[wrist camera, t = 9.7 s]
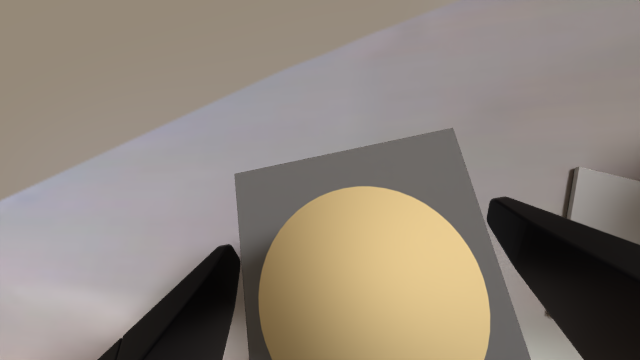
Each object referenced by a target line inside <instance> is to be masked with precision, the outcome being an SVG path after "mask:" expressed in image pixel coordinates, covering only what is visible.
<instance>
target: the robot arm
mask: <svg viewBox="0 0 640 360" xmlns="http://www.w3.org/2000/svg"><path fill="white" fill-rule="evenodd" d="M487 222H488V225H489V227H490V228H491V230H492V232H493V233H494V235H495V237H496V238H497V240H498V242H499V243H500V245H501V247H502V248H503V250H504V252H505V253H506V255H507V256H508V258H509V260H510V261H511V263H512V264H513V266H514V267H515V269H516V270H517V272H518V273H519V274H520V276H521V277H522V278H523V280H524V281H525V282H526V284H527V285H528V286H529V288H530V289H531V290H532V292H533V293H534V294H535V296H536V297H537V298H538V300H539V301H540V302H541V304H542V305H543V306H544V308H545V309H546V310H547V312H548V313H549V314H550V316H551V317H552V318H553V319H554V321H555V322H556V323H557V325H558V326H559V327H560V329H561V330H562V331H563V333H564V334H565V335H566V337H567V338H568V339H569V341H570V342H571V343H572V345H573V346H574V347H575V349H576V350H577V351H578V353H579V354H580V355H581V357H582V358H583V359H584V360H640V245H639V244H637V243H634V242H631V241H628V240H626V239H623V238H620V237H617V236H614V235H612V234H609V233H606V232H603V231H601V230H598V229H595V228H592V227H589V226H587V225H584V224H581V223H578V222H576V221H573V220H570V219H567V218H564V217H562V216H559V215H556V214H553V213H551V212H548V211H545V210H542V209H539V208H537V207H534V206H531V205H528V204H525V203H523V202H520V201H517V200H514V199H512V198H509V197H499V198H493V199H491V201H490V203H489V208H488V214H487ZM239 273H240V259H239V257H238V255H237V254H236V252H235V250H234V248H233V247H232V246H231V245H230V244H227V245H221V246H219V247H217V248H216V249H215V250H214V251H213V252H212V253H211V254H210V255H209V256H208V257H207V258H206V259H204V260H203V261H202V262H201V263H200V264H199V265H198V266H197V267H196V268H195V269H194V270H193V271H192V272H191V273H190V274H189V275H187V276H186V277H185V278H184V279H183V280H182V281H181V282H180V283H179V284H178V285H177V286H176V287H175V288H174V289H173V290H171V291H170V292H169V293H168V294H167V295H166V296H165V297H164V298H163V299H162V300H161V301H160V302H159V303H158V304H157V305H155V306H154V307H153V308H152V309H151V310H150V311H149V312H148V313H147V314H146V315H145V316H144V317H143V318H142V319H141V320H140V321H138V322H137V323H136V324H135V325H134V326H133V327H132V328H131V329H130V330H129V331H128V332H127V333H126V334H125V335H124V336H123V338H120V339H119V340H118V341H117V342H116V343H115V344H114V345H113V346H112V347H111V348H110V349H109V350H108V351H106V352H105V353H104V354H103V355H102V356H101V357H100V358H99V359H98V360H222V359H223V355H224V350H225V346H226V342H227V338H228V334H229V329H230V325H231V321H232V317H233V312H234V308H235V302H236V295H237V288H238V280H239Z"/></svg>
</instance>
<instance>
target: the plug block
mask: <svg viewBox="0 0 640 360" xmlns="http://www.w3.org/2000/svg"><path fill="white" fill-rule="evenodd" d="M235 186H236V199H237V211H238V224H239V236H240V249H241V261H242V274H243V287H244V299H245V312H246V324H247V337H248V349H249V360H531V359H530V356H529V353H528V350H527V347H526V344H525V341H524V338H523V335H522V332H521V329H520V326H519V323H518V320H517V317H516V314H515V311H514V308H513V305H512V302H511V299H510V296H509V293H508V290H507V287H506V284H505V281H504V278H503V275H502V272H501V269H500V266H499V263H498V260H497V257H496V254H495V252H494V249H493V246H492V243H491V240H490V237H489V234H488V231H487V228H486V225H485V222H484V219H483V216H482V213H481V210H480V207H479V204H478V201H477V198H476V195H475V192H474V189H473V186H472V183H471V180H470V177H469V174H468V171H467V168H466V165H465V162H464V159H463V156H462V153H461V150H460V147H459V144H458V141H457V139H456V136H455V133H454V130H453V128H450V129H445V130H441V131H436V132H431V133H426V134H422V135H417V136H412V137H407V138H403V139H398V140H393V141H388V142H384V143H379V144H374V145H369V146H365V147H360V148H355V149H351V150H346V151H341V152H336V153H332V154H327V155H322V156H317V157H313V158H308V159H303V160H298V161H294V162H289V163H284V164H279V165H275V166H270V167H265V168H260V169H256V170H251V171H246V172H241V173H237V174H235Z"/></svg>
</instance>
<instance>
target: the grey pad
mask: <svg viewBox="0 0 640 360" xmlns="http://www.w3.org/2000/svg"><path fill="white" fill-rule="evenodd" d="M567 219H570V220H573V221H576V222H578V223H581V224H584V225H587V226H589V227H592V228H595V229H598V230H601V231H603V232H606V233H609V234H612V235H614V236H617V237H620V238H623V239H626V240H628V241H631V242H634V243H637V244H639V245H640V181H637V180H633V179H628V178H624V177H620V176H616V175H612V174H608V173H604V172H600V171H596V170H591V169H587V168H583V167H576V168H575V171H574V177H573V183H572V189H571V195H570V201H569V207H568V213H567Z"/></svg>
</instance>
